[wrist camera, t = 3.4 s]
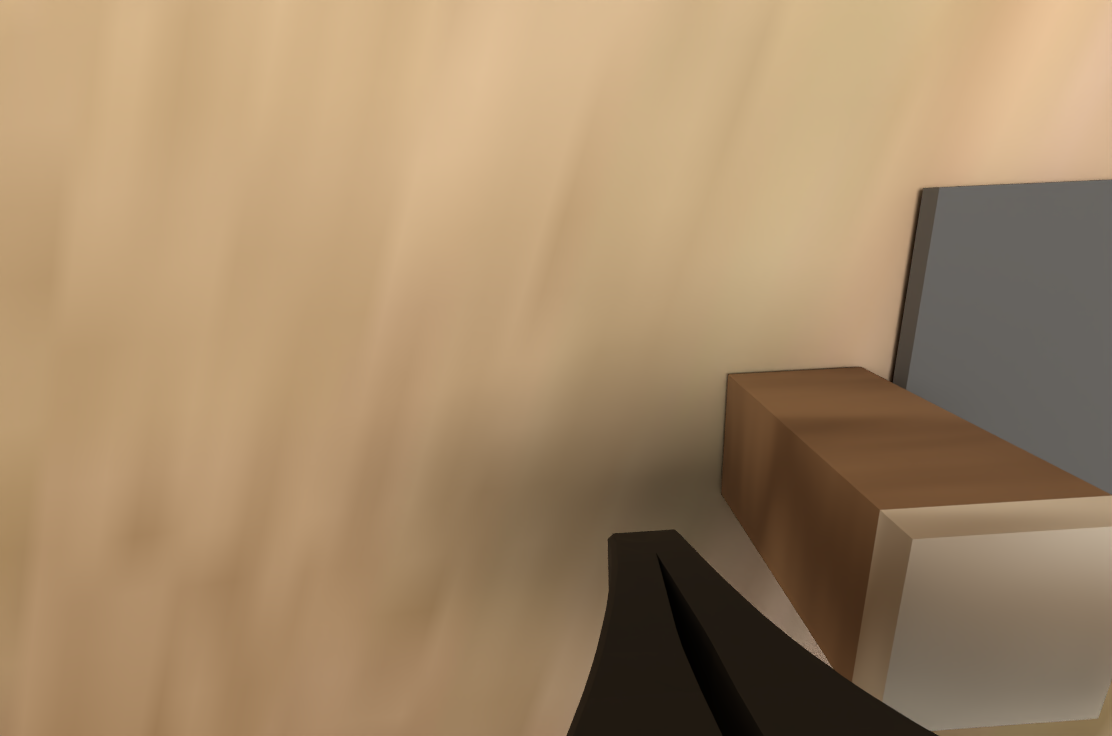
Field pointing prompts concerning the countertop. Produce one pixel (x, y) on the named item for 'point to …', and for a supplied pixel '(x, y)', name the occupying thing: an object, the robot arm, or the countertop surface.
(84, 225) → the countertop surface
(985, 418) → the rubber mat
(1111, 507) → the walnut block
